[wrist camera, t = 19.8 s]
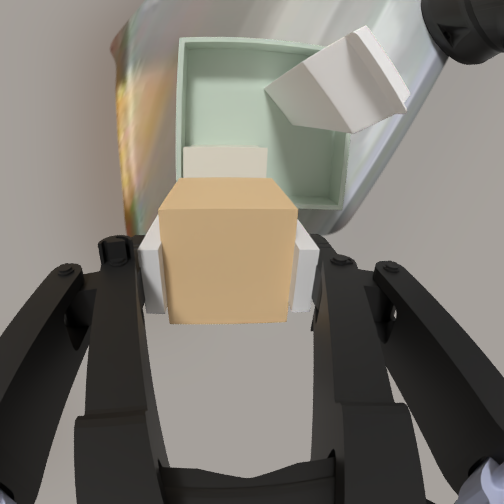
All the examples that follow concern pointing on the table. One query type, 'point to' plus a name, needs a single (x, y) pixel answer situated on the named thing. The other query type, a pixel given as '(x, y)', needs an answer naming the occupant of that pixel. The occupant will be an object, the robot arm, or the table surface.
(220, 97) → the tray
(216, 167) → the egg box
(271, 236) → the box
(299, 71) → the milk
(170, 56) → the table surface
